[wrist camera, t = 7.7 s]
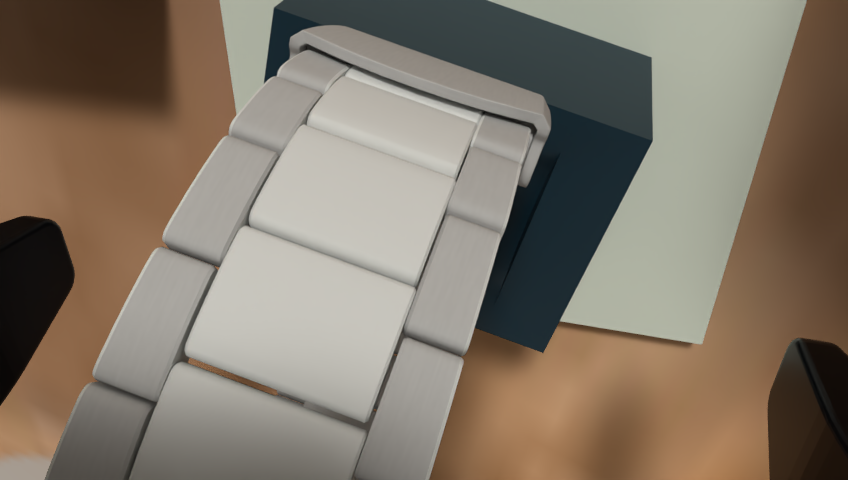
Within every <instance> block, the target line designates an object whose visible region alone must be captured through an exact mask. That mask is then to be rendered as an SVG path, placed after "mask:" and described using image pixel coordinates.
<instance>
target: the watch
mask: <svg viewBox="0 0 848 480" xmlns="http://www.w3.org/2000/svg"><path fill="white" fill-rule="evenodd" d="M652 142H653V117H652V57H649V56H646V55H643V54H640V53H638V52H635V51H632V50H629V49H626V48H623V47H620V46H617V45H615V44H612V43H609V42H606V41H603V40H600V39H597V38H594V37H591V36H589V35H586V34H583V33H580V32H577V31H574V30H571V29H568V28H566V27H563V26H560V25H557V24H554V23H551V22H548V21H545V20H542V19H540V18H537V17H534V16H531V15H528V14H525V13H522V12H519V11H517V10H514V9H511V8H508V7H505V6H502V5H499V4H496V3H493V2H491V1H488V0H283V1H282V2H280V3H279V4H278V5H276V6H275V7H274V10H273V17H272V25H271V33H270V40H269V48H268V55H267V63H266V70H265V78H264V84H263V85H262V86H261V87H260V88H259V90H258V91H257V92H256V93H255V94H254V95H253V96H252V97H251V98H250V100H249V101H248V102H247V103H246V104H245V106H244V107H243V108H242V109H241V110H240V112H239V113H238V114H237V115H236V117H235V118H234V119H233V121H232V123H231V125H230V128H229V135H228V136H225V137H223V138H222V139H221V141H220V142H219V143H218V145H217V146H216V148H215V149H214V151H213V152H212V154H211V155H210V157H209V158H208V160H207V161H206V162H205V164H204V165H203V167H202V168H201V170H200V172H199V173H198V175H197V176H196V178H195V179H194V181H193V183H192V184H191V186H190V187H189V189H188V191H187V192H186V194H185V196H184V197H183V199H182V201H181V202H180V204H179V206H178V207H177V209H176V211H175V212H174V214H173V216H172V217H171V219H170V221H169V223H168V224H167V226H166V228H165V230H164V233H163V241H164V243H165V244H166V245H167V246H168V248H169V249H167V248H164V247H160V248H156V249H155V250H154V251H153V253H152V254H151V256H150V257H149V259H148V261H147V263H146V264H145V266H144V268H143V270H142V272H141V274H140V276H139V277H138V279H137V281H136V283H135V285H134V287H133V289H132V291H131V292H130V294H129V296H128V298H127V300H126V302H125V304H124V306H123V308H122V310H121V312H120V314H119V316H118V318H117V320H116V322H115V324H114V326H113V328H112V330H111V332H110V334H109V336H108V338H107V341H106V343H105V345H104V347H103V349H102V351H101V353H100V355H99V357H98V360H97V362H96V364H95V367H94V369H93V374H92V375H93V376H94V378H95V379H96V380H97V381H98V382H92V383H88V384H87V385H86V386H85V387H84V388H83V390H82V391H81V393H80V395H79V397H78V399H77V401H76V404H75V406H74V408H73V410H72V413H71V415H70V417H69V420H68V422H67V425H66V427H65V429H64V432H63V434H62V436H61V439H60V441H59V444H58V446H57V449H56V451H55V454H54V456H53V459H52V461H51V464H50V466H49V469H48V472H47V475H46V477H45V480H429V478H430V475H431V472H432V468H433V465H434V462H435V458H436V455H437V452H438V448H439V445H440V441H441V438H442V435H443V431H444V428H445V425H446V421H447V418H448V414H449V411H450V408H451V404H452V401H453V397H454V394H455V391H456V387H457V384H458V380H459V377H460V373H461V370H462V366H463V362H464V360H463V359H462V357H460V356H464V355H465V354H466V352H467V350H468V347H469V344H470V341H471V338H472V335H473V331H474V328H477V329H480V330H482V331H485V332H488V333H490V334H493V335H496V336H499V337H501V338H504V339H507V340H510V341H512V342H515V343H518V344H520V345H523V346H526V347H529V348H531V349H534V350H537V351H540V352H542V353H543V352H544V350H545V348H546V346H547V344H548V343H549V341H550V339H551V337H552V335H553V333H554V331H555V329H556V327H557V325H558V323H559V321H560V319H561V317H562V315H563V314H564V312H565V310H566V308H567V306H568V304H569V302H570V300H571V298H572V296H573V294H574V292H575V290H576V288H577V287H578V285H579V283H580V281H581V279H582V277H583V275H584V273H585V271H586V269H587V267H588V265H589V263H590V261H591V259H592V258H593V256H594V254H595V252H596V250H597V248H598V246H599V244H600V242H601V240H602V238H603V236H604V234H605V232H606V230H607V229H608V227H609V225H610V223H611V221H612V219H613V217H614V215H615V213H616V211H617V209H618V207H619V205H620V203H621V201H622V200H623V198H624V196H625V194H626V192H627V190H628V188H629V186H630V184H631V182H632V180H633V178H634V176H635V174H636V173H637V171H638V169H639V167H640V165H641V163H642V161H643V159H644V157H645V155H646V153H647V151H648V149H649V147H650V145H651V144H652ZM170 249H171V250H170ZM172 250H174V251H172ZM175 251H176V252H175ZM178 252H179V253H178ZM181 253H182V254H181ZM183 254H184V255H183ZM186 255H187V256H186ZM189 256H190V257H189ZM191 257H193V258H191ZM194 258H195V259H194ZM197 259H198V260H197ZM200 260H201V261H200ZM202 261H203V262H202ZM205 262H206V263H205ZM208 263H209V264H208ZM210 264H212V265H210ZM213 265H214V266H213ZM215 266H217V267H220V268H219V270H217V269H216V268H215ZM444 350H445V351H444ZM446 351H448V352H446ZM449 352H450V353H449ZM394 353H395V354H398V355H397V356H394ZM452 353H453V354H452ZM455 354H456V355H455ZM457 355H458V356H457ZM189 358H193V359H195V360H198V361H201V362H203V363H206V364H209V365H211V366H214V367H217V368H219V369H222V370H225V371H227V372H230V373H233V374H235V375H238V376H241V377H243V378H246V379H249V380H251V381H254V382H257V383H259V384H262V385H265V386H267V387H270V388H273V389H275V390H277V392H278V394H279V395H281V396H279V395H276V396H274V395H271V394H269V393H266V392H263V391H261V390H258V389H255V388H253V387H250V386H247V385H245V384H242V383H239V382H237V381H234V380H231V379H229V378H226V377H223V376H221V375H218V374H215V373H213V372H210V371H207V370H205V369H202V368H199V367H197V366H194V365H191V364H189V363H188V360H189ZM282 396H284V397H286V398H284V397H282ZM287 398H289V399H287ZM290 399H292V400H294V401H292V400H290ZM295 401H297V402H295ZM298 402H300V403H302V404H300V403H298ZM303 404H304V405H303ZM374 409H376V410H377V412H375V411H373V410H374Z"/></svg>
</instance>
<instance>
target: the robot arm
mask: <svg viewBox="0 0 848 480" xmlns="http://www.w3.org/2000/svg"><path fill="white" fill-rule="evenodd" d="M74 277H75V272H74V267H73V264H72V261H71V258H70V255H69V252H68V249H67V246H66V243H65V240H64V237H63V234H62V231H61V228H60V227H59V225H58V224H57V223H56V222H55V221H52V220H50V219H45V218H39V217H33V216H21V217H17V218H15V219H12V220H9V221H6V222H3V223H0V406H1V404H2V403H3V401H4V400H5V399H6V397H7V396H8V394H9V393H10V391H11V390H12V388H13V387H14V386H15V384H16V383H17V381H18V379H19V378H20V376H21V374H22V373H23V371H24V370H25V368H26V366H27V365H28V363H29V361H30V359H31V358H32V356H33V354H34V353H35V351H36V349H37V347H38V346H39V344H40V342H41V340H42V339H43V337H44V335H45V334H46V332H47V330H48V328H49V327H50V325H51V323H52V321H53V320H54V318H55V316H56V315H57V313H58V311H59V309H60V308H61V306H62V304H63V302H64V301H65V299H66V297H67V296H68V294H69V292H70V290H71V288H72V286H73V283H74ZM768 440H769V472H770V480H848V355H847V354H846V353H845V352H844V351H843V350H842V349H841V348H839V347H838V346H837V345H835V344H833V343H830V342H824V341H817V340H811V339H805V338H797V339H795V340H793V341H792V342H791V343H790V344H789V346H788V348H787V350H786V353H785V355H784V358H783V360H782V363H781V365H780V368H779V370H778V373H777V375H776V378H775V380H774V383H773V386H772V388H771V391H770V395H769V400H768Z"/></svg>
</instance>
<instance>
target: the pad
mask: <svg viewBox="0 0 848 480" xmlns="http://www.w3.org/2000/svg"><path fill="white" fill-rule="evenodd" d="M282 1H283V0H220V6H221V12H222V19H223V26H224V33H225V39H226V46H227V53H228V60H229V66H230V73H231V80H232V86H233V93H234V100H235V107H236V113H237V114H238V113H239V112H240V110H241V109H242V108H243V107H244V106H245V104H246V103H247V102H248V101H249V100H250V98H251V97H252V96H253V95H254V94H255V93H256V92H257V91H258V90H259V88H260V87H261V86H262V85H263V84H264V78H265V70H266V63H267V55H268V48H269V40H270V33H271V25H272V17H273V10H274V7H275V6H276V5H278V4H279V3H280V2H282ZM488 1H491V2H493V3H496V4H499V5H502V6H505V7H508V8H511V9H514V10H517V11H519V12H522V13H525V14H528V15H531V16H534V17H537V18H540V19H542V20H545V21H548V22H551V23H554V24H557V25H560V26H563V27H566V28H568V29H571V30H574V31H577V32H580V33H583V34H586V35H589V36H591V37H594V38H597V39H600V40H603V41H606V42H609V43H612V44H615V45H617V46H620V47H623V48H626V49H629V50H632V51H635V52H638V53H640V54H643V55H646V56H649V57H652V117H653V142H652V144H651V145H650V147H649V149H648V151H647V153H646V155H645V157H644V159H643V161H642V163H641V165H640V167H639V169H638V171H637V173H636V174H635V176H634V178H633V180H632V182H631V184H630V186H629V188H628V190H627V192H626V194H625V196H624V198H623V200H622V201H621V203H620V205H619V207H618V209H617V211H616V213H615V215H614V217H613V219H612V221H611V223H610V225H609V227H608V229H607V230H606V232H605V234H604V236H603V238H602V240H601V242H600V244H599V246H598V248H597V250H596V252H595V254H594V256H593V258H592V259H591V261H590V263H589V265H588V267H587V269H586V271H585V273H584V275H583V277H582V279H581V281H580V283H579V285H578V287H577V288H576V290H575V292H574V294H573V296H572V298H571V300H570V302H569V304H568V306H567V308H566V310H565V312H564V314H563V315H562V317H561V319H560V321H562V322H568V323H574V324H580V325H586V326H592V327H598V328H604V329H610V330H616V331H623V332H629V333H635V334H641V335H647V336H653V337H659V338H665V339H671V340H677V341H684V342H690V343H696V344H702V343H703V339H704V336H705V333H706V330H707V326H708V323H709V320H710V316H711V313H712V310H713V307H714V303H715V300H716V297H717V293H718V290H719V287H720V284H721V280H722V277H723V274H724V270H725V267H726V264H727V261H728V257H729V254H730V251H731V247H732V244H733V241H734V238H735V234H736V231H737V228H738V225H739V221H740V218H741V215H742V211H743V208H744V205H745V202H746V198H747V195H748V192H749V188H750V185H751V182H752V179H753V175H754V172H755V169H756V165H757V162H758V159H759V156H760V152H761V149H762V146H763V142H764V139H765V136H766V133H767V129H768V126H769V123H770V120H771V116H772V113H773V110H774V106H775V103H776V100H777V97H778V93H779V90H780V87H781V83H782V80H783V77H784V74H785V70H786V67H787V64H788V60H789V57H790V54H791V51H792V47H793V44H794V41H795V37H796V34H797V31H798V28H799V24H800V21H801V18H802V15H803V11H804V8H805V5H806V1H807V0H488Z"/></svg>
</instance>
